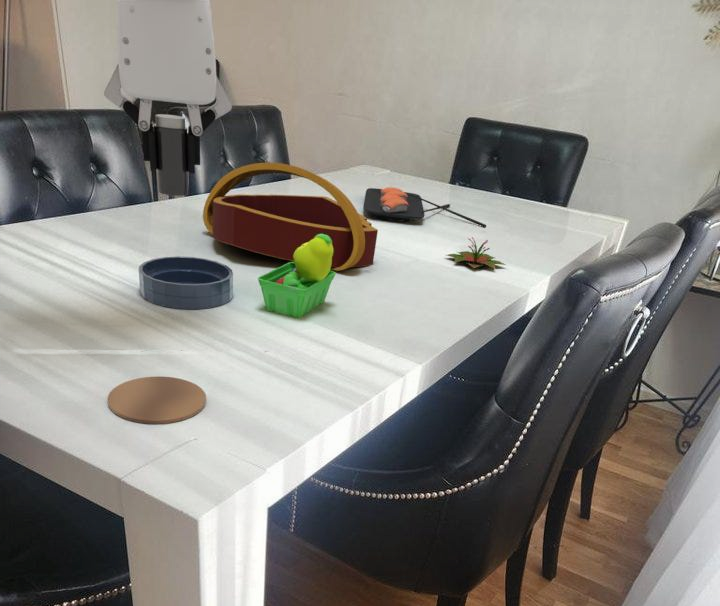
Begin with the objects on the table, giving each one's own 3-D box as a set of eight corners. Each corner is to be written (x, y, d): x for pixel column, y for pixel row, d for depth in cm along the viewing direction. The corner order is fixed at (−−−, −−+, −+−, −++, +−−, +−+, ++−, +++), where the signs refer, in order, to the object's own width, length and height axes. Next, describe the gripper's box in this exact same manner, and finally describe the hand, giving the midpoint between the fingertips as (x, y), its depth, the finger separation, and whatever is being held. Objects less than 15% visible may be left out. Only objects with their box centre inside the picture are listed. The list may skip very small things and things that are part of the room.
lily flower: (472, 274, 122) (477, 250, 119) (432, 256, 129) (436, 232, 127) (517, 270, 128) (523, 246, 125) (476, 252, 135) (481, 230, 133)
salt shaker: (157, 194, 75) (153, 117, 71) (157, 188, 78) (153, 112, 74) (189, 196, 76) (187, 120, 72) (188, 190, 79) (186, 116, 75)
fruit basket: (290, 292, 102) (294, 217, 95) (341, 305, 99) (349, 229, 93) (254, 313, 93) (256, 232, 86) (310, 328, 90) (316, 245, 84)
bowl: (139, 312, 88) (137, 283, 86) (142, 281, 98) (140, 254, 96) (236, 314, 92) (236, 286, 89) (228, 284, 102) (228, 258, 100)
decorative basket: (396, 273, 124) (413, 189, 118) (307, 279, 101) (321, 175, 94) (260, 234, 138) (269, 157, 132) (155, 232, 115) (158, 139, 108)
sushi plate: (365, 194, 173) (367, 179, 171) (476, 209, 174) (479, 193, 172) (361, 218, 149) (363, 201, 147) (490, 235, 150) (493, 218, 148)
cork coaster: (104, 425, 64) (104, 421, 63) (110, 379, 71) (110, 376, 71) (208, 422, 66) (208, 419, 66) (203, 379, 74) (203, 376, 74)
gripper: (242, -13, 71) (240, 169, 81) (78, -39, 66) (98, 158, 77) (250, -15, 65) (247, 182, 75) (72, -43, 60) (94, 170, 71)
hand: (172, 168), depth 76 cm, fingers closed on salt shaker, 3 cm apart
